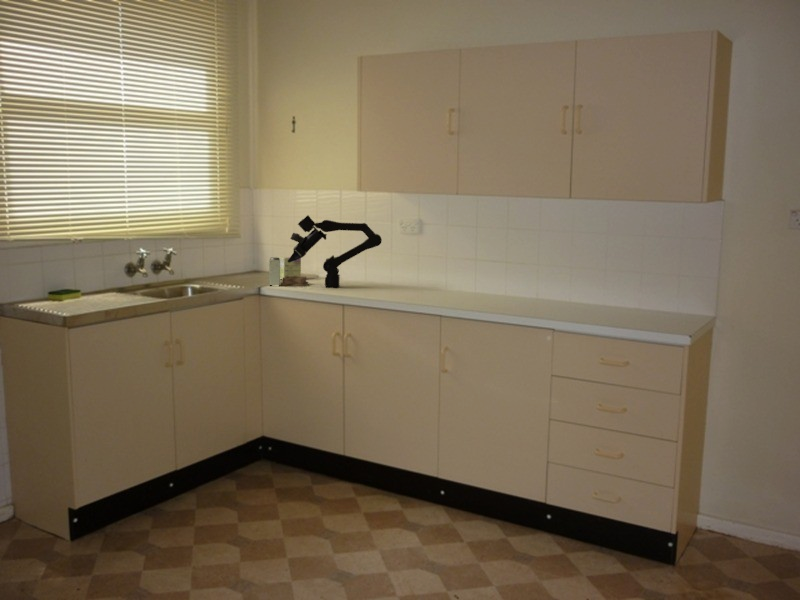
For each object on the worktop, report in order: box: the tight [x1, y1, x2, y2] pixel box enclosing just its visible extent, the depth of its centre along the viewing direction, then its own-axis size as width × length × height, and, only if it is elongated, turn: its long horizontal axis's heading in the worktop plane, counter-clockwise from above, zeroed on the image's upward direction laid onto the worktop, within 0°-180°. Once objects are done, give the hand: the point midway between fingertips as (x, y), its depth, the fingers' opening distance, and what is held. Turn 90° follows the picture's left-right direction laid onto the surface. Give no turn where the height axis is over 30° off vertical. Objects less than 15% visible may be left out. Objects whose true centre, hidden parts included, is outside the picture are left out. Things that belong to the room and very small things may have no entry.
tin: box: [268, 256, 281, 286], centre depth 397 cm, size 5×5×14 cm
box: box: [278, 256, 302, 281], centre depth 422 cm, size 10×6×12 cm, turn 130°
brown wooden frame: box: [280, 276, 309, 287], centre depth 405 cm, size 12×10×4 cm
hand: (289, 260), depth 397 cm, fingers open, 9 cm apart
